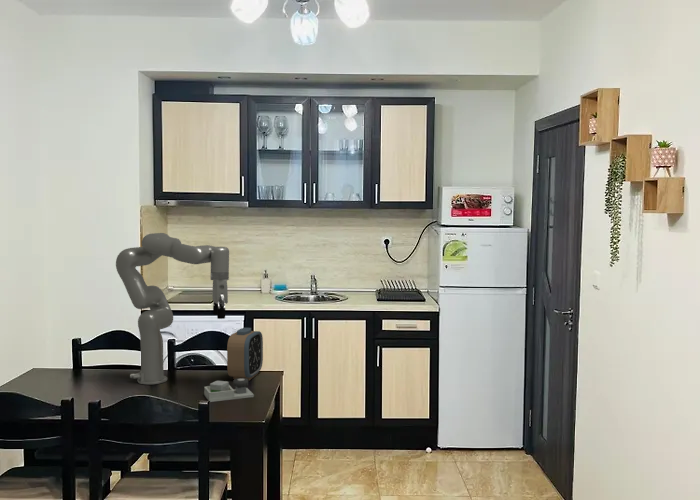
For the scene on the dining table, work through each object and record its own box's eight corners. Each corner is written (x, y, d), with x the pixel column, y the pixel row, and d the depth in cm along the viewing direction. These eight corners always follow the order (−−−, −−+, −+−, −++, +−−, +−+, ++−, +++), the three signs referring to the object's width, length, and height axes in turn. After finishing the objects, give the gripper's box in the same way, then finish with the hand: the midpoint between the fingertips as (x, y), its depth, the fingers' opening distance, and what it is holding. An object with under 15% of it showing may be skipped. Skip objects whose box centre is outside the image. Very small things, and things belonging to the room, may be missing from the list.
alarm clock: (247, 383, 292) (247, 334, 290) (227, 382, 293) (227, 333, 292) (263, 371, 312) (263, 326, 310) (244, 370, 314) (243, 325, 312)
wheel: (235, 393, 270) (235, 382, 270) (232, 389, 276) (231, 378, 275) (249, 391, 273) (249, 380, 272) (246, 388, 278) (246, 377, 278)
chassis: (209, 401, 264) (209, 393, 264) (204, 394, 274) (204, 386, 273) (253, 396, 271) (253, 388, 271) (247, 390, 281) (247, 382, 280)
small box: (209, 395, 269) (209, 383, 269) (217, 391, 274) (217, 380, 274) (221, 397, 267) (221, 385, 267) (229, 393, 272) (229, 381, 272)
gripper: (232, 278, 273) (232, 319, 275) (224, 273, 289) (223, 312, 291) (214, 278, 271) (213, 320, 272) (207, 273, 287) (206, 313, 288)
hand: (219, 316), depth 281 cm, fingers open, 9 cm apart
